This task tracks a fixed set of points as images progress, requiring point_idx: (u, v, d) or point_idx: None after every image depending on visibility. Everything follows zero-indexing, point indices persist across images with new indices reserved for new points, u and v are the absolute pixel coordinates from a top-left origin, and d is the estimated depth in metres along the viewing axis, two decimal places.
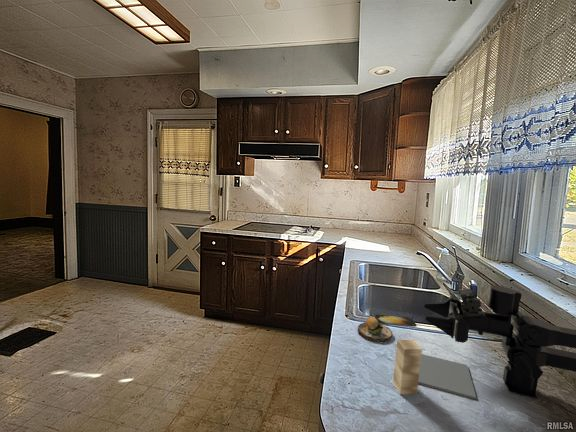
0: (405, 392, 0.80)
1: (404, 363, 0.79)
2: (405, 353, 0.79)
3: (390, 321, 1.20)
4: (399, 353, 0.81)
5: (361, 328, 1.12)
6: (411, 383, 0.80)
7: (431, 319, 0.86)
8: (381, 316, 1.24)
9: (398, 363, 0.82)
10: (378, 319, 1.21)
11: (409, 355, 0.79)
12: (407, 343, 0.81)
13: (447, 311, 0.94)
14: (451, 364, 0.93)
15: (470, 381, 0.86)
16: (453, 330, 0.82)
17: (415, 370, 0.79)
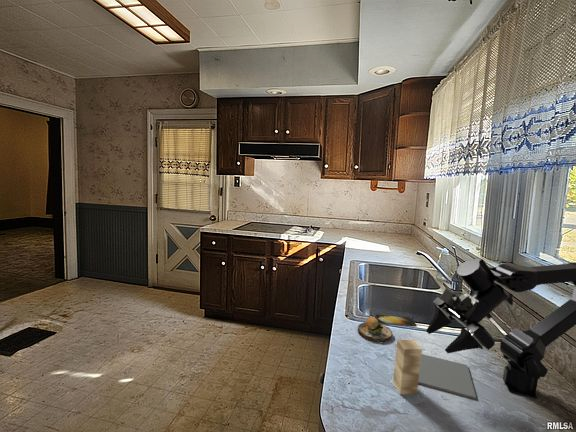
0: (405, 392, 0.80)
1: (404, 363, 0.79)
2: (405, 353, 0.79)
3: (390, 321, 1.20)
4: (399, 353, 0.81)
5: (361, 328, 1.12)
6: (411, 383, 0.80)
7: (451, 348, 0.76)
8: (381, 316, 1.24)
9: (398, 363, 0.82)
10: (378, 319, 1.21)
11: (409, 355, 0.79)
12: (407, 343, 0.81)
13: (446, 318, 0.86)
14: (451, 364, 0.93)
15: (470, 381, 0.86)
16: (477, 343, 0.73)
17: (415, 370, 0.79)
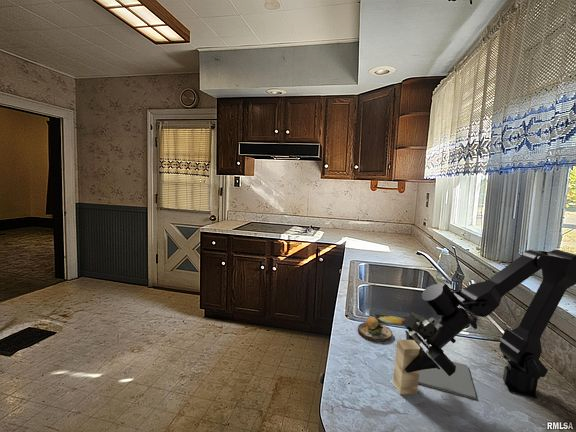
0: (405, 392, 0.80)
1: (404, 362, 0.79)
2: (405, 353, 0.79)
3: (390, 321, 1.20)
4: (399, 353, 0.81)
5: (361, 328, 1.12)
6: (411, 383, 0.80)
7: (410, 368, 0.78)
8: (381, 316, 1.24)
9: (398, 362, 0.82)
10: (378, 319, 1.21)
11: (409, 355, 0.79)
12: (407, 343, 0.81)
13: None
14: None
15: (470, 381, 0.86)
16: (434, 363, 0.76)
17: None
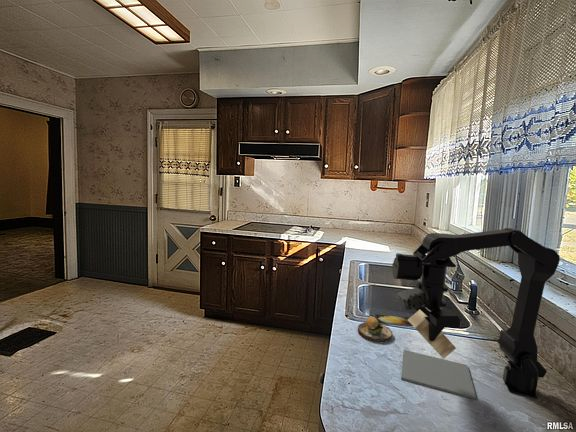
0: (446, 354, 0.84)
1: (424, 336, 0.82)
2: (418, 330, 0.82)
3: (390, 321, 1.20)
4: None
5: (361, 328, 1.12)
6: (444, 344, 0.83)
7: (432, 336, 0.82)
8: (381, 316, 1.24)
9: None
10: (378, 319, 1.21)
11: (423, 328, 0.82)
12: (415, 318, 0.84)
13: (426, 308, 0.87)
14: (451, 364, 0.93)
15: (470, 381, 0.86)
16: None
17: None
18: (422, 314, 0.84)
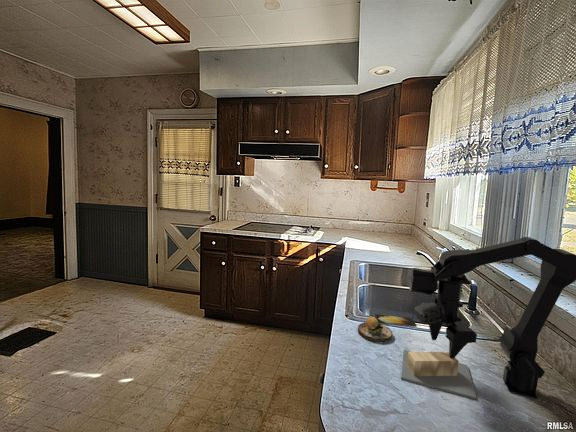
0: (455, 371, 0.87)
1: (426, 374, 0.87)
2: (418, 374, 0.87)
3: (390, 321, 1.20)
4: None
5: (361, 328, 1.12)
6: (447, 366, 0.87)
7: (452, 354, 0.83)
8: (381, 316, 1.24)
9: None
10: (378, 319, 1.21)
11: (420, 371, 0.87)
12: (410, 364, 0.89)
13: None
14: None
15: (470, 381, 0.86)
16: (464, 341, 0.80)
17: (435, 364, 0.87)
18: (411, 358, 0.88)
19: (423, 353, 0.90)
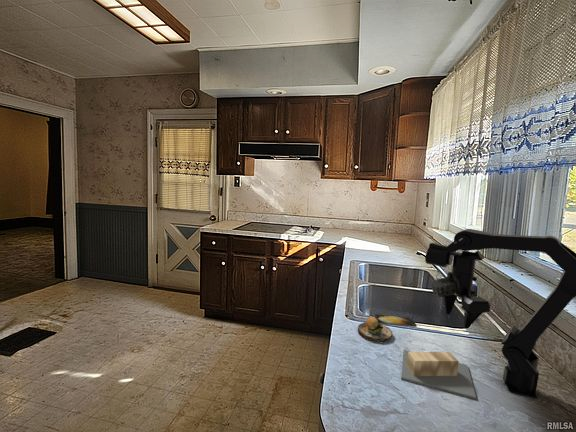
0: (455, 371, 0.87)
1: (426, 374, 0.87)
2: (418, 374, 0.87)
3: (390, 321, 1.20)
4: None
5: (361, 328, 1.12)
6: (447, 366, 0.87)
7: (467, 324, 0.89)
8: (381, 316, 1.24)
9: None
10: (378, 319, 1.21)
11: (420, 371, 0.87)
12: (410, 364, 0.89)
13: (451, 294, 0.98)
14: None
15: (470, 381, 0.86)
16: None
17: (435, 364, 0.87)
18: (411, 358, 0.88)
19: (423, 353, 0.90)
